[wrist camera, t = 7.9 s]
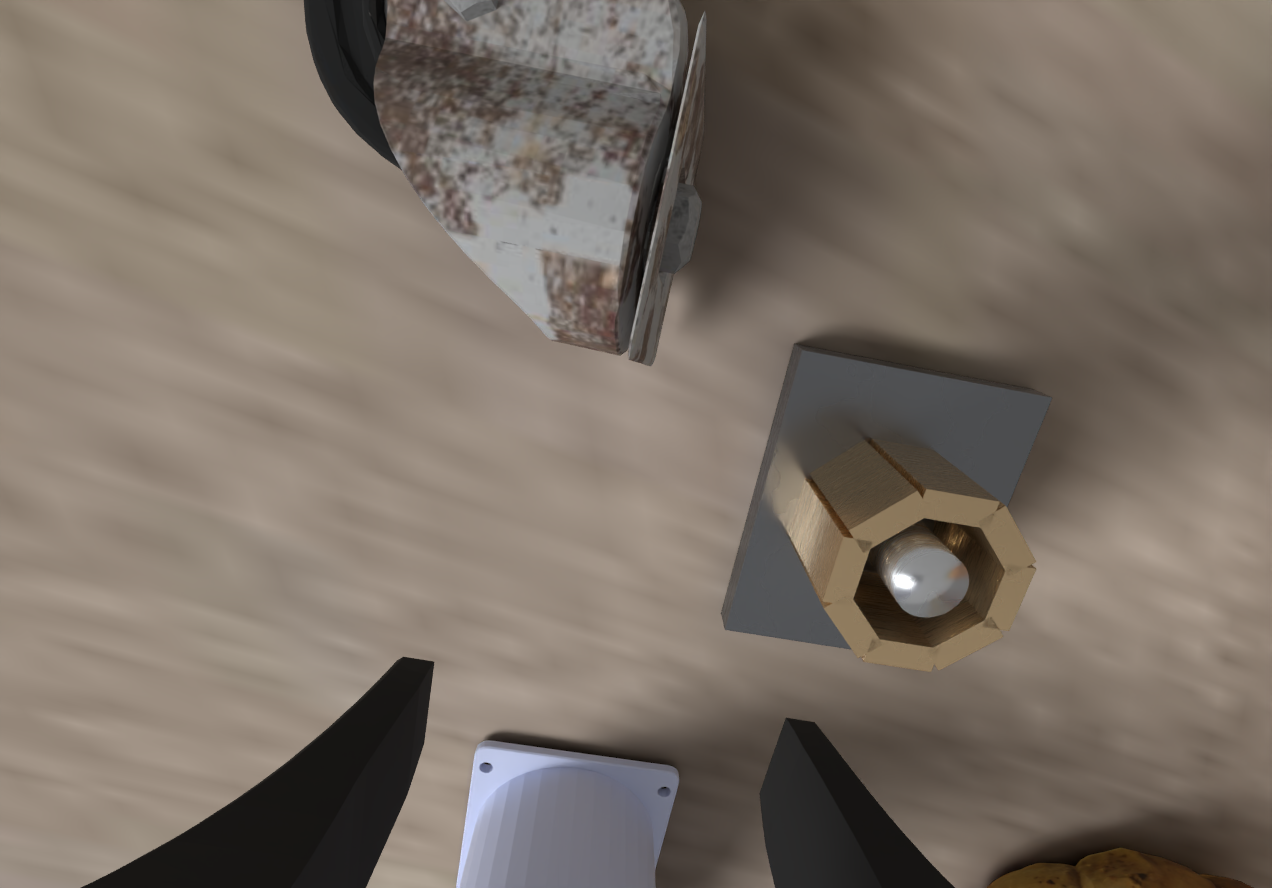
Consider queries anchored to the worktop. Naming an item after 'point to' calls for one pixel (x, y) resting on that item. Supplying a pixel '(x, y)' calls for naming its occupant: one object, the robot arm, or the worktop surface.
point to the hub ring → (885, 505)
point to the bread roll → (1113, 874)
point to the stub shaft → (863, 410)
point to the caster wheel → (537, 143)
